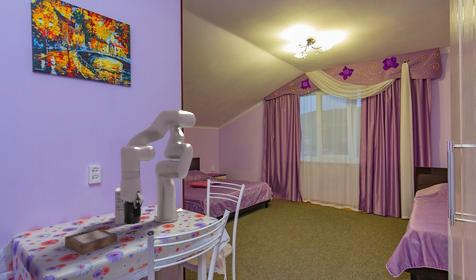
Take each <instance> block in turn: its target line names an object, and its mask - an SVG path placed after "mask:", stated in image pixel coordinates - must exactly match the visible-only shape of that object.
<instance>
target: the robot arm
mask: <svg viewBox="0 0 476 280" xmlns="http://www.w3.org/2000/svg"><path fill="white" fill-rule="evenodd" d="M196 119H197V118H196V116H195V114H194V113H192V112H189V111H186V110H180V109H175V110H174V109H173V110H172V109H171V110H162V111H161V112H159V114H158V115H157V116H156V118H155V119H154V121H153V122H151V124H150V126H149V127H146V128H145V129H143V130H142V131H140V132H139V133H136V134H135V135H134V136H133V137H131V139H130V140H129V141H128V143H127V144H126V145H125V146H123V147H121V148H120V168H121V169H120V170H121V173H120V174H121V178H120V185H119V186H120V187H119V188H120V199H121V200H122V201H123V207H124V203H125V202H126V201H127V202H131V203H132V202H133V205H134V208H133V211H134V218H136V217H139V216H142V205H143V203H144V201H145V199H144V197H143V189H142V181H141V164H140V163H141V162H150V161H151V160H153V159H154V158H155V156H156V149H155V147H154V146H152V145H150V144H151V143H154V142H155V143H156V142H158V141H159V140H162V139H163V138H164V137H165V136H166V134H167V132H168V131H169V136H168V140H167V143H166V145H165V149H164V153H163V156H164V157H165V159H166V160H165V159H163V160H160V161H158V162H157V163H156V165H155V168H154V173H155V176H156V200H157V201H156V202H157V203H156V207H157V209H156V210H157V211H156V216H155V217H154V218H153V220H154V222H155V223H158V224H160V223H162V224H165V223H169V224H170V223H174V222H176V221H178V220H179V218H180V217H179V215H178V214H180V213H183V209H182V208H179V209H177V208H176V206H177V205H176V204H177V203H176V201H177V200H176V199H177V198H176V196H177V195H176V189H177V187H176V184H175V183H176V182H175V180H174V179H177V180H183V179H185V178H186V177H187V176H188V173H189V170H190V167H191V163H192V161H193V157H194V149H193V146H192V144H190V143H186V142H185V139H186V138H185V135H184V132H183V131H182V130H181V129H184V128H185V129H187V128H189V129H190V128H193V127H194V126H195V125H196V121H197V120H196ZM136 199H137V200H136ZM135 200H136V201H135ZM136 202H138V203H137V205H136Z"/></svg>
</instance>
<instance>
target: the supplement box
mask: <svg viewBox="0 0 476 280" xmlns="http://www.w3.org/2000/svg"><path fill="white" fill-rule="evenodd" d="M114 220H115V221H114V224H115V225H122V224H125V223H124V207H123V201H122V200H121V199H120V187H116V188H115V191H114Z"/></svg>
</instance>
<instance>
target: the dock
mask: <svg viewBox="0 0 476 280" xmlns="http://www.w3.org/2000/svg"><path fill="white" fill-rule="evenodd" d="M117 243H118V233H112V232H110V231H108V230H106V229H102V227H96V228H92V229H88V230H85V231H81V232H78V233H74V234H71V235H67V236H64V246H65V247H67V248H68V249H70V250H72V251H73V252H75V253H77V254H79V255H81V256H82V255H85V254H88V253H91V252H93V251H97V250H99V249H102V248H106V247H108V246H111V245H114V244H117Z"/></svg>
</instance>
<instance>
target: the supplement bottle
mask: <svg viewBox="0 0 476 280" xmlns="http://www.w3.org/2000/svg"><path fill="white" fill-rule="evenodd" d="M136 200H137V199H136ZM136 200H135V201H136ZM137 203H138V202H136V205H137ZM133 208H134V205H133V202H132V203H131V202H127V201H126V202H125V203H124V223H123V224H125V225H130V226H131V225H136V224H139V223H140V222H141V221H142V220H141V219H142V218H141V216H142V215H141V216H139V217H136V218H134V211H133Z"/></svg>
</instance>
